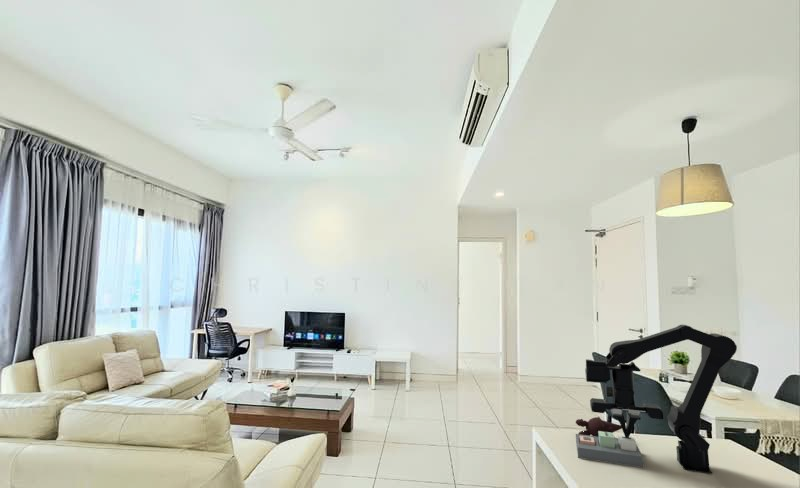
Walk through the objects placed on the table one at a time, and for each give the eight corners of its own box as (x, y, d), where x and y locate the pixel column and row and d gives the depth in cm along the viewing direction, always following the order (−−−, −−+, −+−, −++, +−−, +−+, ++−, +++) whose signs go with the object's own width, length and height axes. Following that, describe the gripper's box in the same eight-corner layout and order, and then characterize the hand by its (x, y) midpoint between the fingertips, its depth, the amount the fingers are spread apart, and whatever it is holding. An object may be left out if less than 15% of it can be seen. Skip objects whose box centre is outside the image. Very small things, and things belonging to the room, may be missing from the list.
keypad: (635, 451, 117) (635, 441, 118) (643, 467, 107) (642, 456, 108) (576, 443, 124) (575, 433, 124) (578, 457, 114) (577, 447, 114)
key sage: (613, 445, 117) (612, 432, 117) (615, 450, 113) (614, 436, 114) (599, 443, 118) (598, 430, 119) (600, 448, 115) (599, 435, 115)
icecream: (616, 414, 132) (572, 416, 134) (624, 416, 125) (577, 418, 127) (621, 436, 130) (576, 438, 132) (630, 439, 123) (582, 441, 125)
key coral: (594, 449, 119) (593, 436, 119) (595, 455, 115) (594, 441, 116) (580, 447, 120) (579, 434, 121) (581, 453, 117) (580, 439, 117)
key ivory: (633, 449, 115) (632, 435, 115) (636, 455, 111) (635, 440, 112) (619, 447, 116) (618, 433, 117) (621, 452, 113) (620, 438, 113)
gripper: (652, 380, 120) (656, 431, 118) (587, 376, 127) (590, 424, 125) (661, 390, 109) (666, 446, 108) (590, 384, 116) (593, 436, 115)
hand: (626, 437), depth 114 cm, fingers closed, pressing on key ivory
